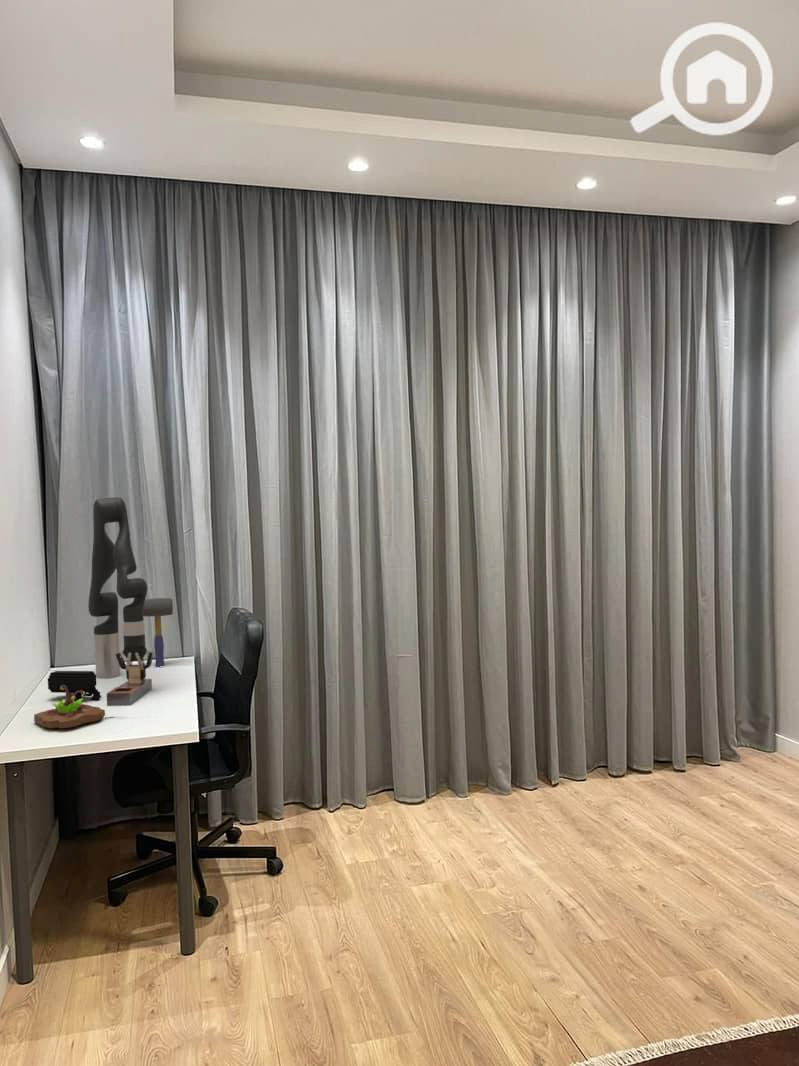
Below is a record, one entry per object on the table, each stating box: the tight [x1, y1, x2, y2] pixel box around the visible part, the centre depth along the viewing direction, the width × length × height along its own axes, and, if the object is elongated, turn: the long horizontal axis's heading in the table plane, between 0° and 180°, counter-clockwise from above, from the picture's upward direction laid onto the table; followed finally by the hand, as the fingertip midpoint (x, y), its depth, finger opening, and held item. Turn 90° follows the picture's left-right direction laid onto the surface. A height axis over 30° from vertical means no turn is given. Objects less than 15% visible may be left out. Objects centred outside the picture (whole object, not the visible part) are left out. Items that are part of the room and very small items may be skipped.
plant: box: [33, 685, 106, 729], centre depth 276 cm, size 20×20×11 cm
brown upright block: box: [128, 664, 144, 684], centre depth 312 cm, size 4×4×9 cm
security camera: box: [47, 670, 102, 702], centre depth 303 cm, size 7×18×10 cm, turn 79°
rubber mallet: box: [143, 597, 174, 668], centre depth 352 cm, size 12×8×30 cm, turn 101°
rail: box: [106, 678, 153, 707], centre depth 305 cm, size 24×8×4 cm, turn 179°
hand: (136, 679), depth 312 cm, fingers closed on brown upright block, 4 cm apart
